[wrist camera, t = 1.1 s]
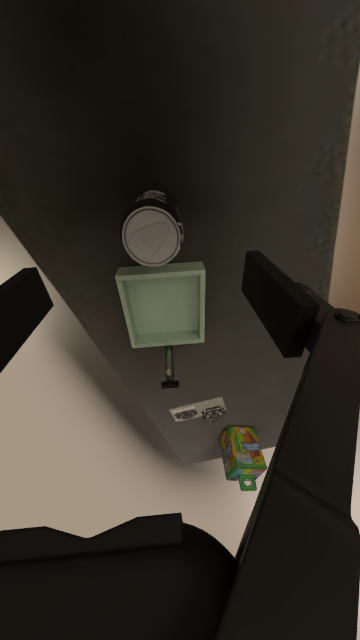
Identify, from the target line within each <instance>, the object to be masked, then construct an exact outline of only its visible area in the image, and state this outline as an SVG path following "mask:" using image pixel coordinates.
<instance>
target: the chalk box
mask: <svg viewBox="0 0 360 640" xmlns="http://www.w3.org/2000/svg"><path fill="white" fill-rule="evenodd" d="M219 442H220V448H221V453H222V459H223V464H224V470H225V474H226V479H227V480H233V481H239V483H240V489H241V491H255V490H256V489H257V488H256V482H255V480H256V479H257V478H258V477H259V476H260V475H261V474H262V473H263V472H264V471H265V470H266V469H267V466H266V463H265V460H264V457H263V454H262V451H261V448H260V444H259V441H258V438H257V435H256V432H255V429H254V427H239V426H227V427H226V429H225V431H224V432H223V434H222V436H221V437H220V439H219ZM244 481H251V485H250V486H247V485H245V484H244Z"/></svg>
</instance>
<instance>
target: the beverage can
mask: <svg viewBox="0 0 360 640" xmlns="http://www.w3.org/2000/svg"><path fill="white" fill-rule="evenodd" d="M120 236H121V240H122V243H123V245H124V247H125V249H126V251H127V253H128V254H129V255H130V257H131V258H132V259H134V260H135V261H136V262H138V263H140V264H142V265H145V266H149V267H157V266H161V265H164V264H166V263H168V262H169V261H170V260H172V259H173V258H174V257H175V256H176V255H177V253H178V252H179V250H180V248H181V246H182V243H183V238H184V230H183V225H182V222H181V219H180V215H179V212H178V209H177V206H176V204H175V202H174V201H173V199H172V198H171V197H170V196H169V195H168V194H166V193H164V192H162V191H159V190H148V191H145V192H143V193H142V194H140V195H139V196H138V197H137V198H136V199H135V201H134V202H133V203H132V204H131V206H130V207H129V208H128V209H127V211H126V212H125V213H124V215H123V217H122V220H121V224H120Z"/></svg>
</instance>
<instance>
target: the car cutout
mask: <svg viewBox="0 0 360 640" xmlns="http://www.w3.org/2000/svg"><path fill="white" fill-rule="evenodd" d="M169 411H170V413H171V414H172V416H173V418H174V419H175V421H176V422H180V421H184V420H188V419H193V418H197V417H201V416H203V418H204V419H205V420H207V419H208V420H209V421H210V422H215V421H219V420H220V419H221V416H223V415H225V411H227V410H226V407H225V404H224V401H223V398H222V397H219V398H215V399H210V400H206V401H202V402H198V403H194V404H190V405H186V406H181V407H177V408H173V409H169Z"/></svg>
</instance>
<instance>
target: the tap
mask: <svg viewBox="0 0 360 640" xmlns="http://www.w3.org/2000/svg"><path fill="white" fill-rule="evenodd" d="M165 361H166V382H161V386H162V389H165V388H177V387H179V381H174V367H173V346H172V345H167V346H165Z"/></svg>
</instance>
